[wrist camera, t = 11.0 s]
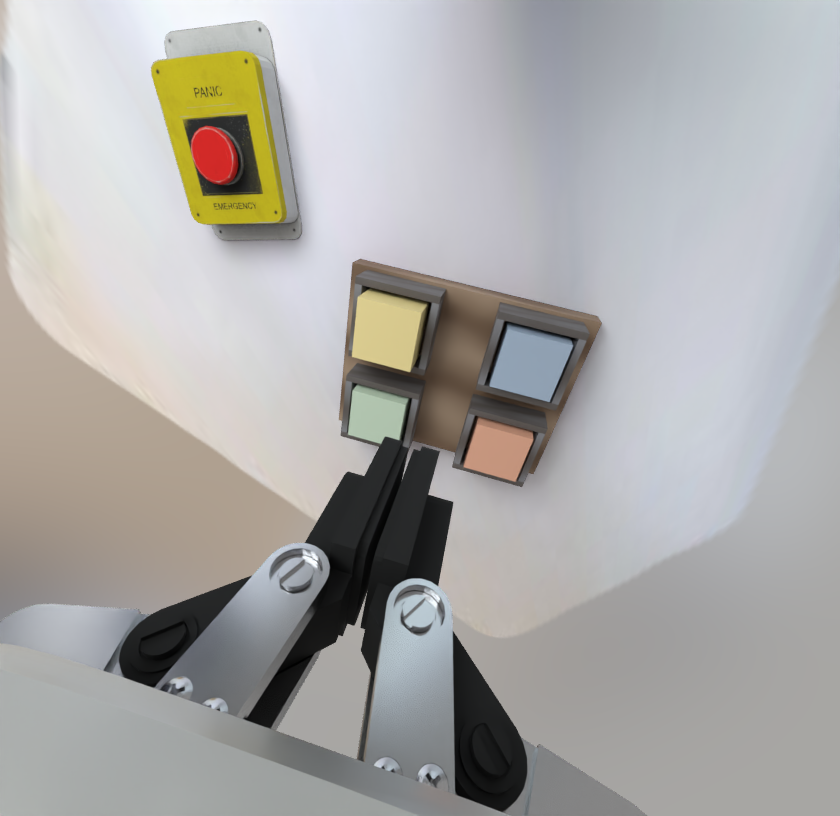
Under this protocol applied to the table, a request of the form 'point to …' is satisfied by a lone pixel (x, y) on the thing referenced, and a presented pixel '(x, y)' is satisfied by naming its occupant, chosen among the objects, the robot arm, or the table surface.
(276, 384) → the table surface
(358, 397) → the sage button
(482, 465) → the terracotta button
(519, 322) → the console
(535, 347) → the slate button
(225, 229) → the emergency button
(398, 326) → the mustard button
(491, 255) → the table surface
